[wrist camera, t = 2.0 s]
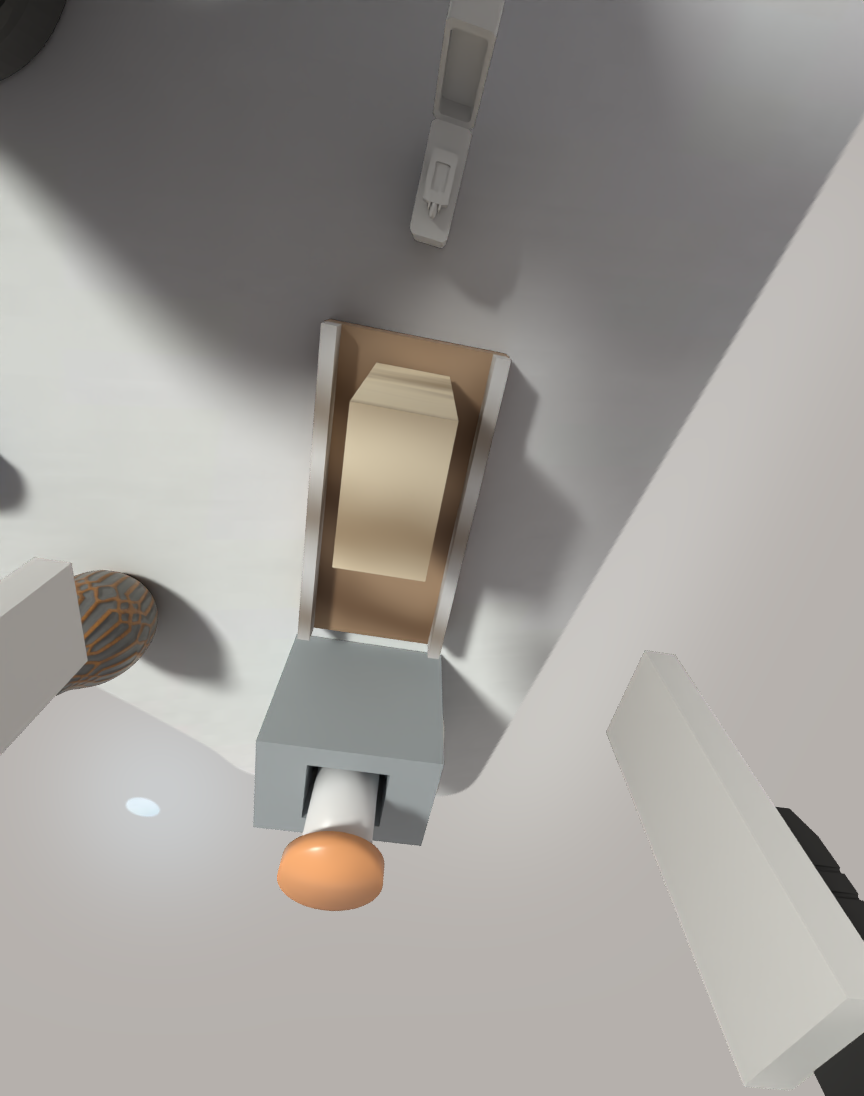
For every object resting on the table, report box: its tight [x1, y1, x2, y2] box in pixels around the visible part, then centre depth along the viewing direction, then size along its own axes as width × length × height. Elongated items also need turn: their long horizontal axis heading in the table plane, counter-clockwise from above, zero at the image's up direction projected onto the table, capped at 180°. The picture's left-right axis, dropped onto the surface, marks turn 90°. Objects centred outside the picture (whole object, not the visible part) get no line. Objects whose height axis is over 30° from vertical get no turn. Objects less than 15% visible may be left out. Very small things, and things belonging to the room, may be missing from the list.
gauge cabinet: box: [254, 634, 445, 846], centre depth 36 cm, size 8×12×10 cm
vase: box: [56, 570, 158, 696], centre depth 33 cm, size 7×7×9 cm
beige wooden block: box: [332, 363, 458, 582], centre depth 24 cm, size 7×4×10 cm, turn 170°
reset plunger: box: [277, 766, 384, 911], centre depth 30 cm, size 6×6×8 cm
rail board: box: [297, 319, 511, 659], centre depth 32 cm, size 20×10×3 cm, turn 170°
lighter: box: [410, 0, 505, 248], centre depth 21 cm, size 7×2×8 cm, turn 165°
